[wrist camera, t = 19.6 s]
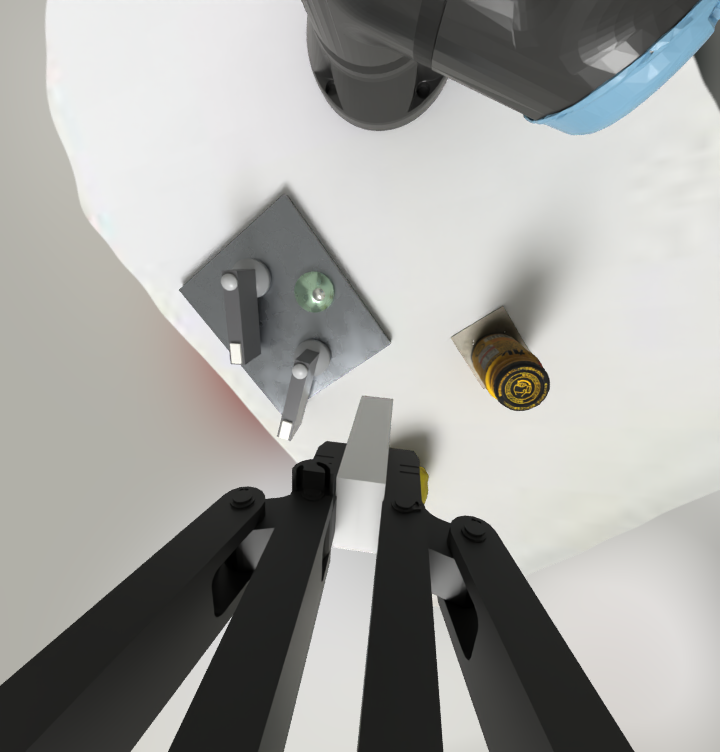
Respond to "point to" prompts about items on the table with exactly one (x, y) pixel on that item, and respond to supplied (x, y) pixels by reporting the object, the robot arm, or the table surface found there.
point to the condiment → (503, 362)
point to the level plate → (290, 302)
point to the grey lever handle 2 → (302, 383)
